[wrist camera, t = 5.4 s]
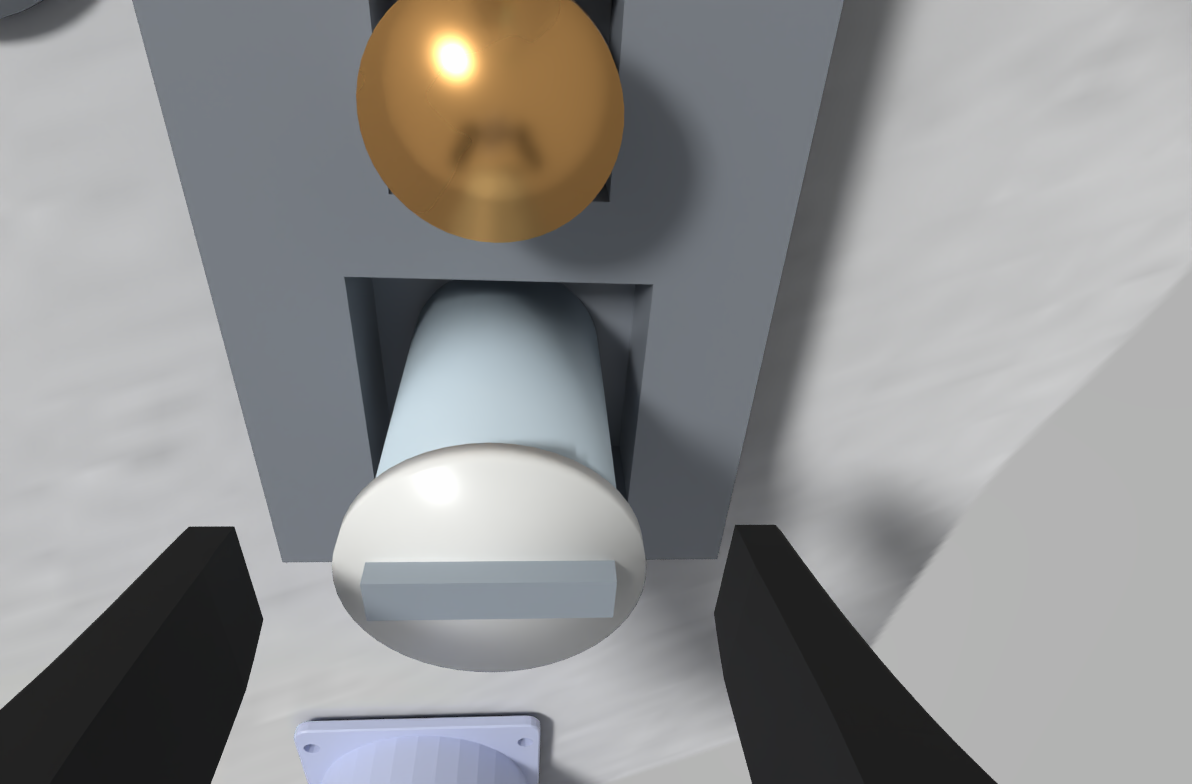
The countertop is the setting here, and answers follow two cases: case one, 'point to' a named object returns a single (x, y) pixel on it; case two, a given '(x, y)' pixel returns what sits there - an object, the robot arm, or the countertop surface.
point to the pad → (15, 6)
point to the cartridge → (494, 490)
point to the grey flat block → (434, 257)
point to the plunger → (490, 113)
